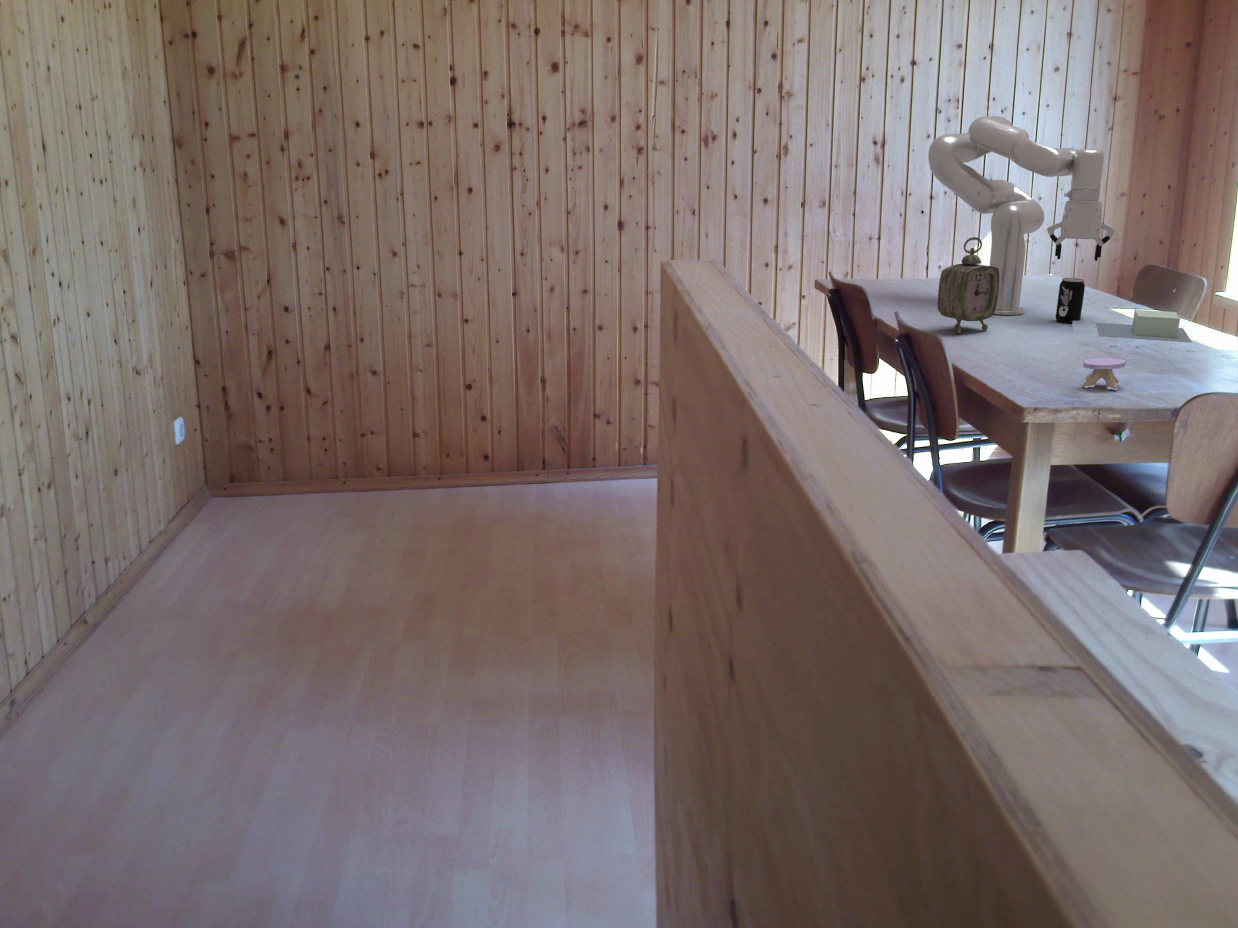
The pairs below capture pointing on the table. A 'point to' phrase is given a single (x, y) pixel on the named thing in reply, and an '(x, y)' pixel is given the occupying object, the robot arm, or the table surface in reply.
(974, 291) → the tabletop clock
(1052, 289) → the table surface
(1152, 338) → the board
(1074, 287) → the beverage can
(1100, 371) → the toy table
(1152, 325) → the plinth
